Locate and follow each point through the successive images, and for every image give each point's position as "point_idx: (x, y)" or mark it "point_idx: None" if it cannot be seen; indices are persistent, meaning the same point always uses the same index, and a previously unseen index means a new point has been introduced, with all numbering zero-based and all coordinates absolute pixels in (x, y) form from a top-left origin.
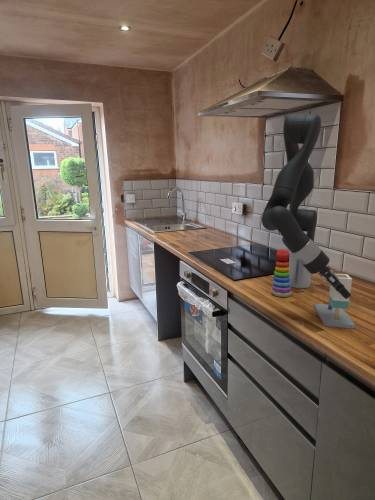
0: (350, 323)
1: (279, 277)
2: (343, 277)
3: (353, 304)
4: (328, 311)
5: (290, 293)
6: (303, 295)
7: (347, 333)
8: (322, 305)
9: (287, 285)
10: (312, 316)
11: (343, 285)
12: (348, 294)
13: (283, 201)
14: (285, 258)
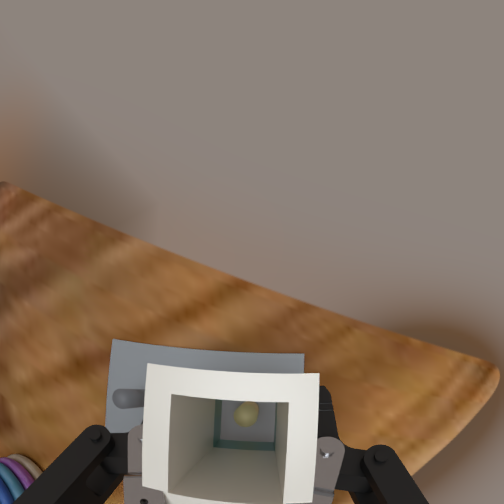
0: (293, 367)
1: None
2: (179, 408)
3: (89, 274)
4: None
5: (35, 470)
6: (26, 416)
7: (347, 392)
8: (118, 412)
9: (20, 489)
10: None
11: (388, 456)
12: (329, 397)
13: None
14: None
